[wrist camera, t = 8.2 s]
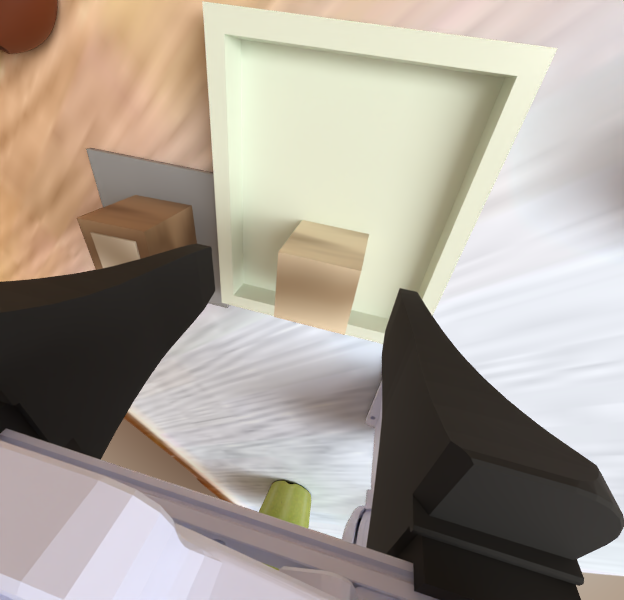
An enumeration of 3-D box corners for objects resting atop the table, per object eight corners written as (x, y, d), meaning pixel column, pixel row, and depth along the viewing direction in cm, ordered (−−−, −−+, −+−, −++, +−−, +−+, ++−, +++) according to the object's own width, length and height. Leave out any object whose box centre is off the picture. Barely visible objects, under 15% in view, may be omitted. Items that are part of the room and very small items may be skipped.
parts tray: (414, 332, 24) (415, 352, 22) (234, 288, 25) (221, 302, 24) (536, 53, 14) (557, 48, 12) (225, 11, 15) (202, 1, 14)
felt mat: (229, 305, 27) (227, 308, 26) (127, 279, 28) (124, 281, 27) (223, 174, 20) (220, 176, 20) (90, 147, 21) (86, 148, 21)
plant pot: (295, 510, 48) (278, 581, 41) (249, 480, 46) (222, 550, 39) (335, 501, 43) (323, 580, 36) (286, 467, 41) (262, 544, 34)
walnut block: (199, 261, 24) (158, 296, 20) (148, 250, 25) (99, 282, 21) (191, 205, 21) (143, 232, 17) (135, 194, 22) (75, 218, 18)
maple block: (354, 291, 22) (344, 334, 18) (296, 277, 23) (273, 316, 19) (369, 234, 20) (361, 271, 16) (302, 219, 20) (278, 251, 16)
